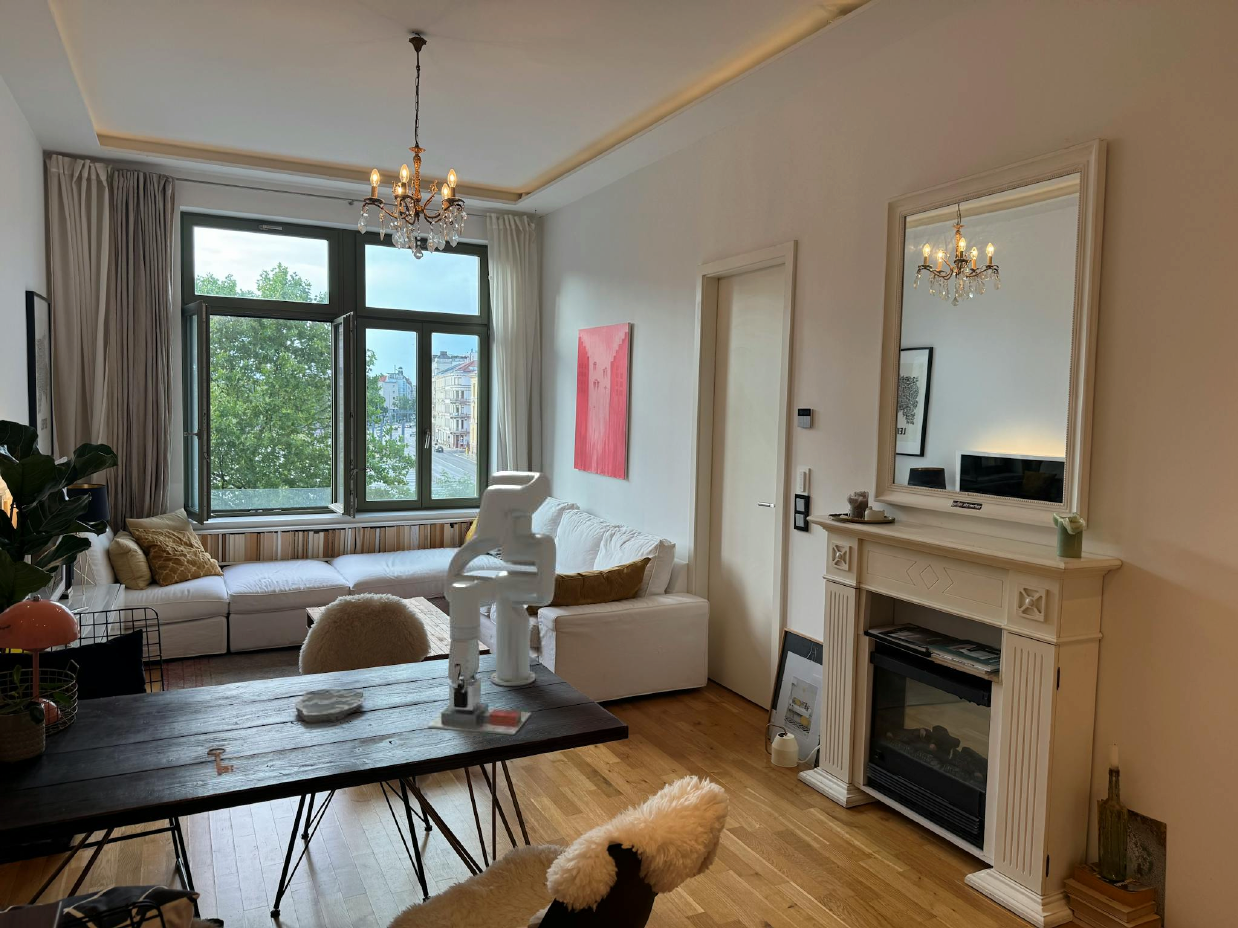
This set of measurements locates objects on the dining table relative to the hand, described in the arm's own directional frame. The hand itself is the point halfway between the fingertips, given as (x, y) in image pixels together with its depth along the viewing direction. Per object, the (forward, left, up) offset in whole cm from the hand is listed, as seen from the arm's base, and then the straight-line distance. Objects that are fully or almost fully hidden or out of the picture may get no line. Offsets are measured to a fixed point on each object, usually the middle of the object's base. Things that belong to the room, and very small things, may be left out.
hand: (465, 701), depth 218 cm
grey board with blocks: (0, +4, -5) cm, 6 cm away
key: (+35, -43, -5) cm, 56 cm away
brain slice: (+1, -36, -5) cm, 36 cm away
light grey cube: (0, 0, -1) cm, 1 cm away
